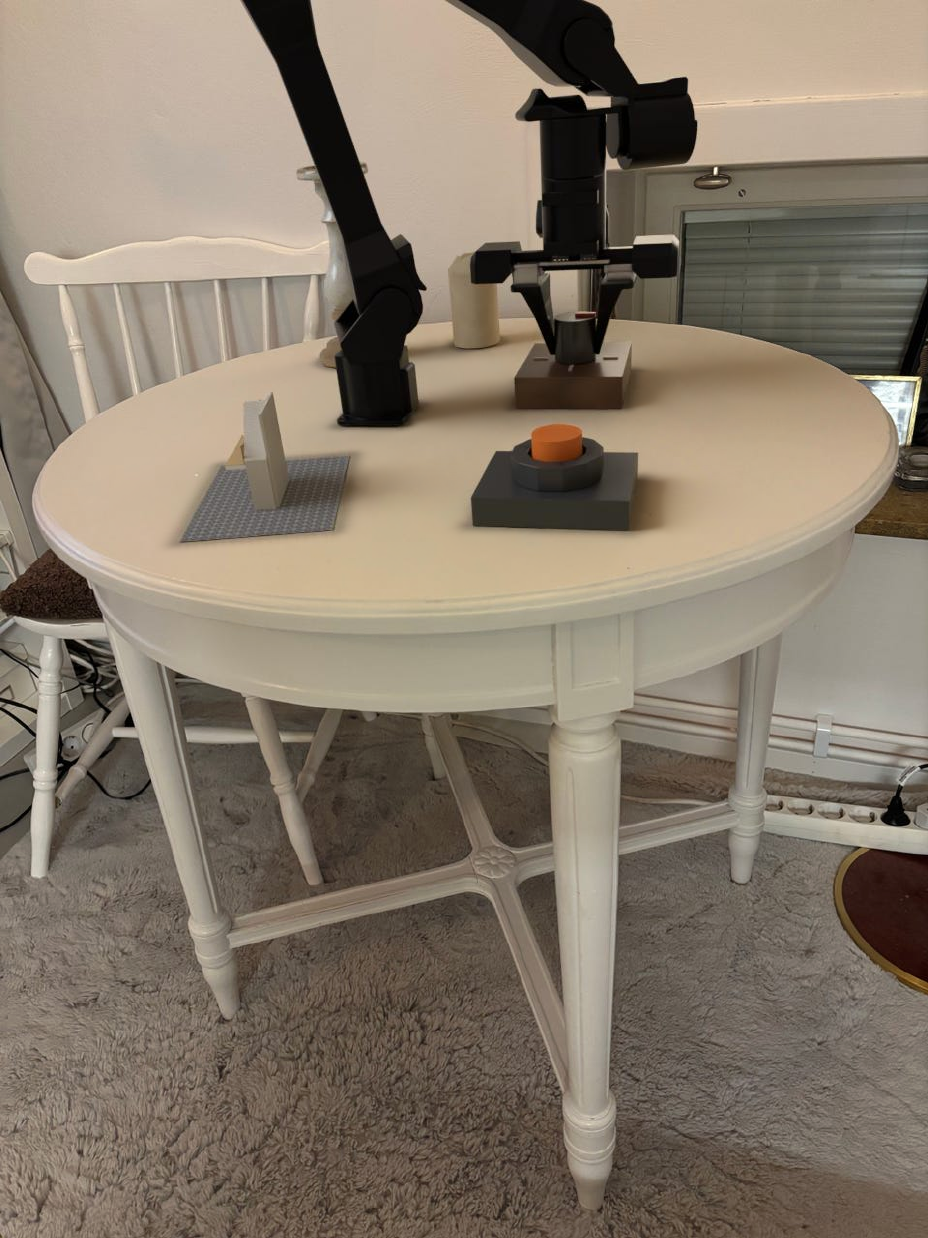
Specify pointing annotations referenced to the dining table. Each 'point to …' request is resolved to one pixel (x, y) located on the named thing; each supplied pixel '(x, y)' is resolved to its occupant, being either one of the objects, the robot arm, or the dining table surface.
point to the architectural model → (268, 486)
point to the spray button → (556, 443)
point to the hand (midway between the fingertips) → (575, 353)
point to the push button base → (557, 490)
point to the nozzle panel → (574, 380)
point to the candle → (472, 307)
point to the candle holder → (332, 263)
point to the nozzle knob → (575, 337)
